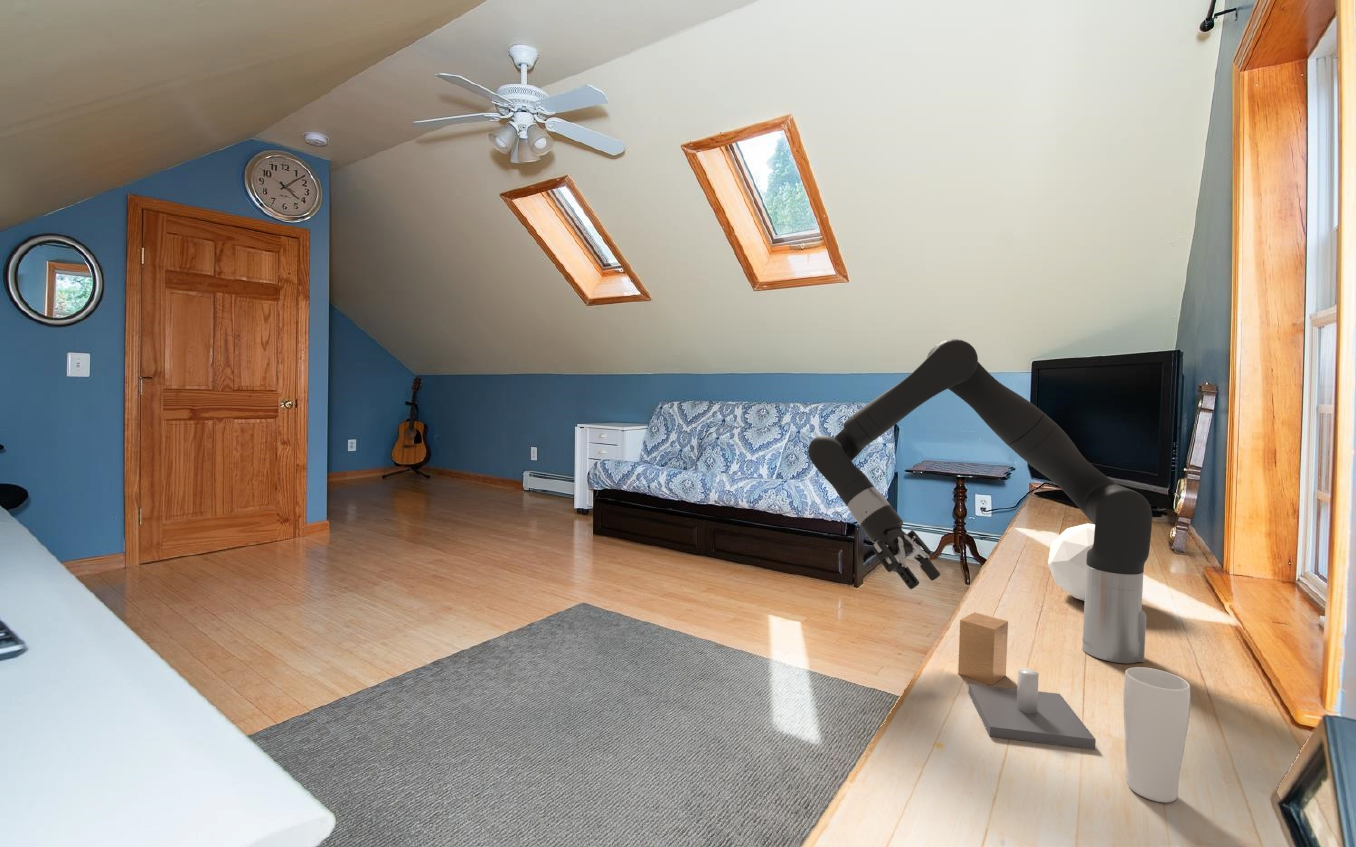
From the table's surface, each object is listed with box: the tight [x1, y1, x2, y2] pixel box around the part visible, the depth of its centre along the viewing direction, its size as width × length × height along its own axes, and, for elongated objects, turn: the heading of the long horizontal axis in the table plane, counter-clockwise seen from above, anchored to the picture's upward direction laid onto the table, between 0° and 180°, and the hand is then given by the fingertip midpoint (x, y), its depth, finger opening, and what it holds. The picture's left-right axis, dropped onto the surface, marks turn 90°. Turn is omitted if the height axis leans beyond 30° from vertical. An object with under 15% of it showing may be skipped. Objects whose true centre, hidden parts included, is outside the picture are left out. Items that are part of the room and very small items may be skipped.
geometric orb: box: [1047, 523, 1095, 602], centre depth 155 cm, size 19×20×20 cm
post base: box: [968, 667, 1097, 750], centre depth 98 cm, size 14×14×8 cm
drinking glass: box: [1122, 666, 1191, 804], centre depth 80 cm, size 7×7×15 cm
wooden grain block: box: [957, 612, 1009, 687], centre depth 114 cm, size 6×6×10 cm
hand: (926, 582), depth 121 cm, fingers open, 8 cm apart
